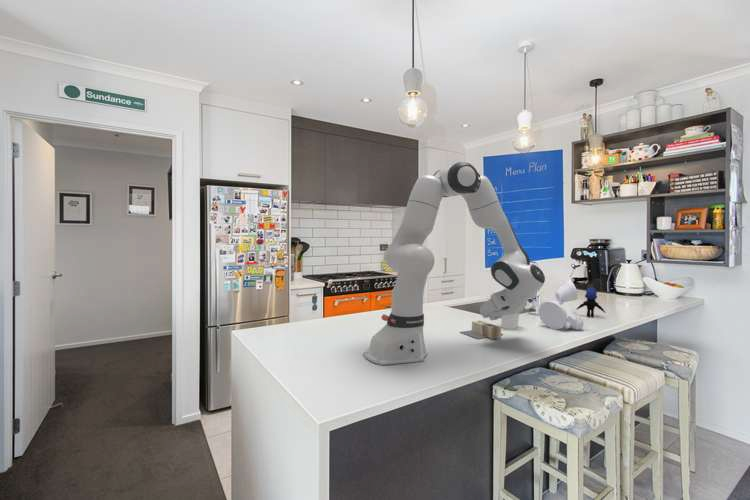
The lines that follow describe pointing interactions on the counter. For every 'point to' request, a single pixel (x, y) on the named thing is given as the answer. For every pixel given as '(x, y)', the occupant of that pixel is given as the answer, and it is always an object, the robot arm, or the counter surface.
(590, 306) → the toy
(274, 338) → the counter surface
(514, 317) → the foam cup
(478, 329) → the block
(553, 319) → the light fixture
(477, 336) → the mat
